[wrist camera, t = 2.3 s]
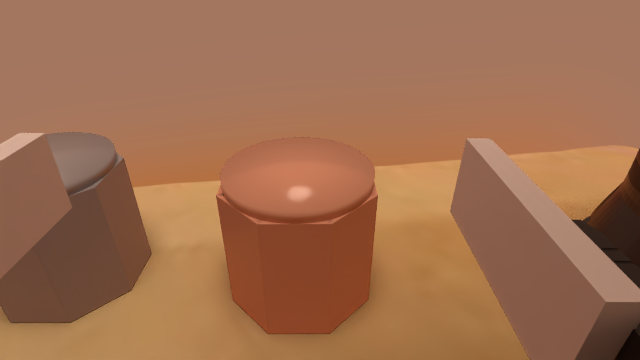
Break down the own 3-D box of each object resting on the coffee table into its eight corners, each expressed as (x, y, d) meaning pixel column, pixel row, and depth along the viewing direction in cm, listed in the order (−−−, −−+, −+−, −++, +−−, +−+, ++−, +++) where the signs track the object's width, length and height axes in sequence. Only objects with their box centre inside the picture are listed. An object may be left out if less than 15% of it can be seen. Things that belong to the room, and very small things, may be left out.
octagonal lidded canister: (359, 238, 34) (366, 136, 29) (373, 333, 26) (386, 212, 21) (248, 239, 34) (235, 137, 29) (224, 334, 26) (201, 212, 21)
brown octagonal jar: (163, 232, 35) (137, 132, 30) (113, 322, 26) (64, 202, 21) (54, 232, 35) (10, 132, 30) (-32, 322, 26) (-115, 203, 21)
